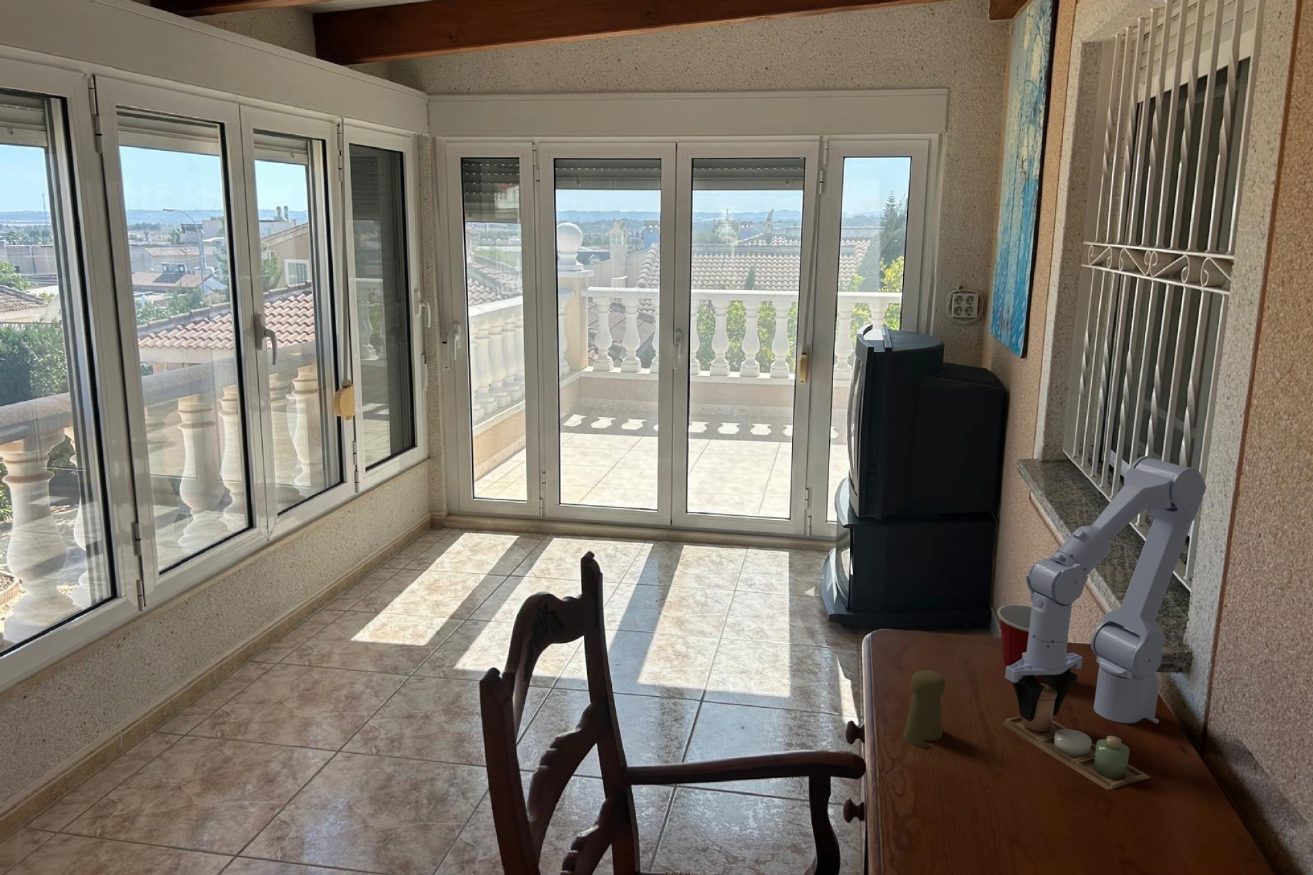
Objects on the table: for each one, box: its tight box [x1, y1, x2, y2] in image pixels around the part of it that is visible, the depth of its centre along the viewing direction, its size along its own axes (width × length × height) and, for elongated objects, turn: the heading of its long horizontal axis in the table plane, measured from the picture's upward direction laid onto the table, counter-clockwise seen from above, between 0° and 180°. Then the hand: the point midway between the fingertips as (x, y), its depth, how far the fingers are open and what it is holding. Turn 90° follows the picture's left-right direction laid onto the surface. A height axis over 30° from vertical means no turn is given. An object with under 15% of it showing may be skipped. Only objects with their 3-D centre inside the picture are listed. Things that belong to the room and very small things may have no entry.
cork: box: [903, 669, 946, 749], centre depth 155 cm, size 6×6×11 cm
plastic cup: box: [996, 604, 1040, 680], centre depth 178 cm, size 11×11×12 cm
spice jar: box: [1021, 682, 1057, 731], centre depth 157 cm, size 5×5×7 cm
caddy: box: [999, 715, 1152, 791], centre depth 152 cm, size 9×21×2 cm, turn 25°
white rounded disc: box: [1054, 728, 1093, 758], centre depth 152 cm, size 5×5×2 cm
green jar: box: [1093, 735, 1130, 779], centre depth 145 cm, size 4×4×5 cm
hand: (1038, 715), depth 158 cm, fingers closed on spice jar, 5 cm apart
